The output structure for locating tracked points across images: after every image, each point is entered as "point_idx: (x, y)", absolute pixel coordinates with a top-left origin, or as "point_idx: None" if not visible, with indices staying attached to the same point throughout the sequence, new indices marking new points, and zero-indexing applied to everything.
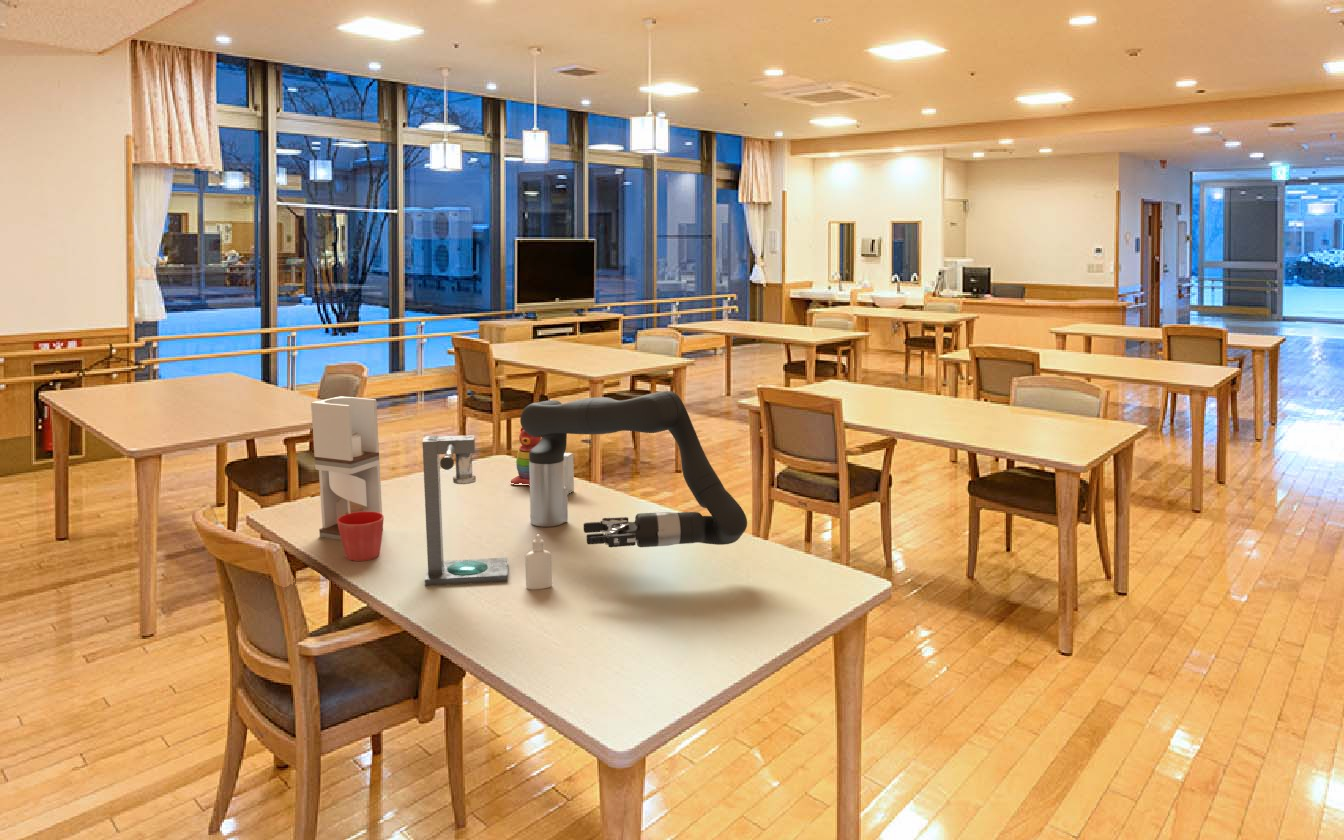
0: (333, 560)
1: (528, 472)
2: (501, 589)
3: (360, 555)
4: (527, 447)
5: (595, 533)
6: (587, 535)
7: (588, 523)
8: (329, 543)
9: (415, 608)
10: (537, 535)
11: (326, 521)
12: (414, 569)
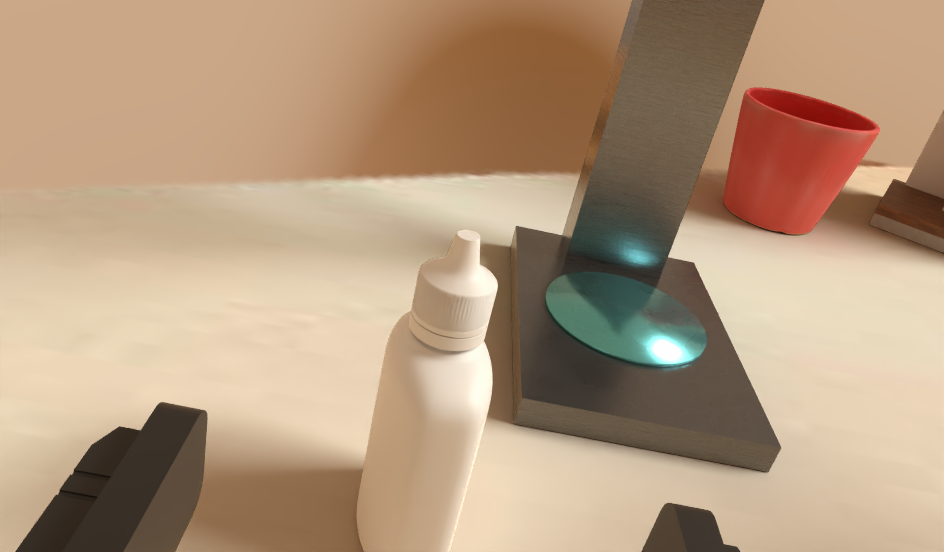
0: (722, 182)
1: None
2: None
3: (727, 189)
4: None
5: (155, 482)
6: (165, 405)
7: (684, 541)
8: (843, 198)
9: (320, 201)
10: (458, 232)
11: (919, 171)
12: None
